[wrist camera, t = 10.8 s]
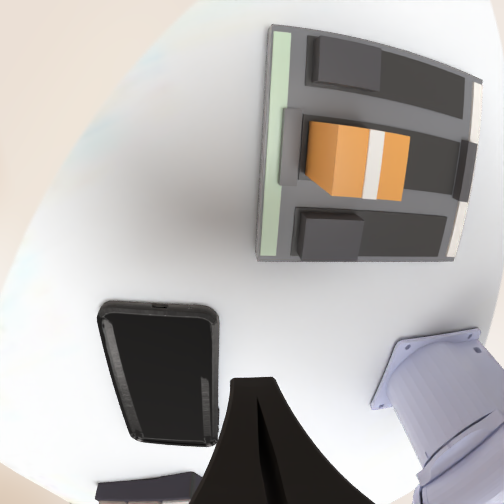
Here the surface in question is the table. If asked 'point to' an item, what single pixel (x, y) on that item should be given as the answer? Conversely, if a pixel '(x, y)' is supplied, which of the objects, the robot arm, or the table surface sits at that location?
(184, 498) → the red and black box
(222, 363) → the table surface
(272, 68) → the panel
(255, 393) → the robot arm
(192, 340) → the phone
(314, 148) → the handle
